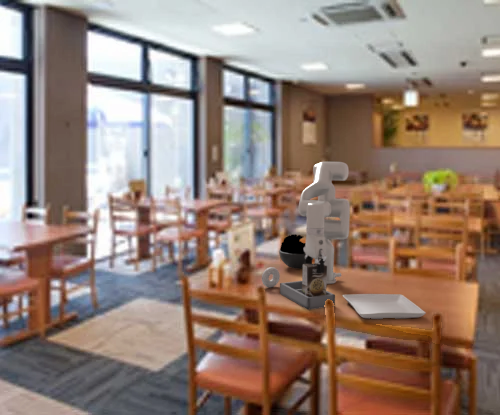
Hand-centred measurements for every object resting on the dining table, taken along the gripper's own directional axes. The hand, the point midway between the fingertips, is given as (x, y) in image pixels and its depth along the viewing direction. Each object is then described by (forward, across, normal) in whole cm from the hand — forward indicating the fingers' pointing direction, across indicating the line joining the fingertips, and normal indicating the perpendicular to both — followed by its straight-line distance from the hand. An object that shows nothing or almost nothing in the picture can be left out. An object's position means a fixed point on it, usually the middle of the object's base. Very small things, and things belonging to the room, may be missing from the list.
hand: (314, 270), depth 221 cm
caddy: (+15, +6, 0) cm, 16 cm away
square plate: (+15, -19, -22) cm, 33 cm away
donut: (+15, +30, +6) cm, 34 cm away
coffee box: (+14, -1, 0) cm, 14 cm away
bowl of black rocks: (+16, +60, -25) cm, 66 cm away
